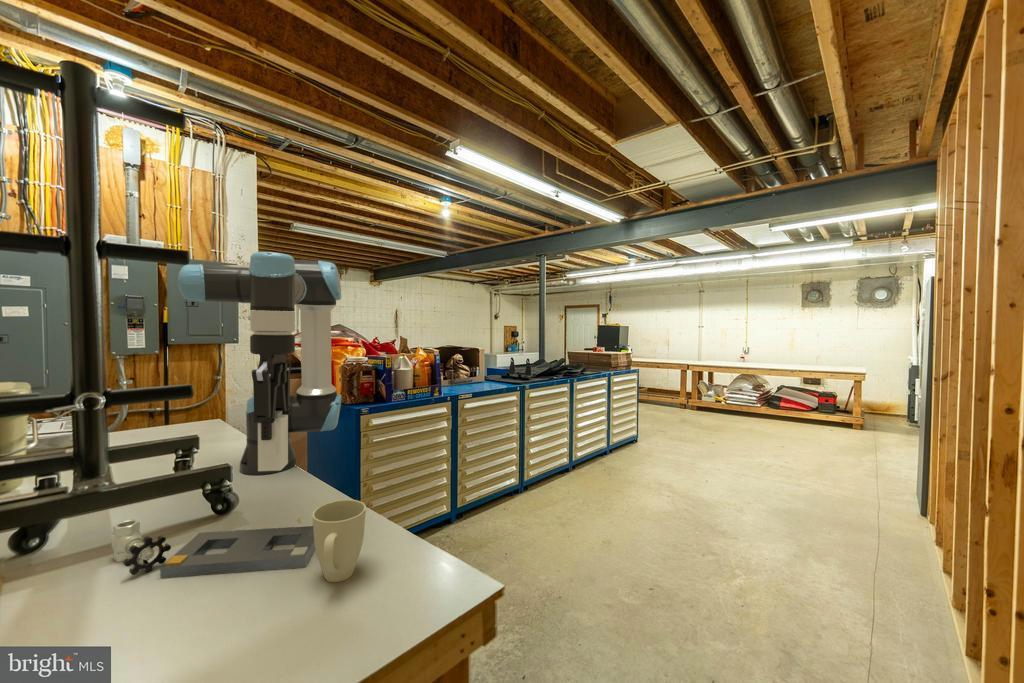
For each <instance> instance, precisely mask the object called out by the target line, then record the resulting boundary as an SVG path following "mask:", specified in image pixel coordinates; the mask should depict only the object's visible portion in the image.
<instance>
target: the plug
mask: <svg viewBox="0 0 1024 683" xmlns="http://www.w3.org/2000/svg"><path fill="white" fill-rule="evenodd" d="M274 422H277V455H276V456H260V423H258V471H280V470H282V469H283V468H284V467H285V466H286V465H287V464H288V415H282V411H275V421H274ZM280 472H281V471H280Z"/></svg>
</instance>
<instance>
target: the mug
mask: <svg viewBox="0 0 1024 683" xmlns="http://www.w3.org/2000/svg"><path fill="white" fill-rule="evenodd" d="M366 511H367V507H366V503H364V502H362V501H360V500H357V499H339V500H333V501H331V502H326V503H324V504H322V505H320V506H318V507H317V508H316V509H315V510H314V511H313V512H312V526H313V530H314V543H315V550H314V551H315V554H316V557H317V560H318V563H319V565H320V568H321V571H322V573H323V576H324V578H325V579H324V580H326V581H327V582H329V583H339V582H343V581H345V580H348V579H349V578H351V576H353V574H354V572H355V568H356V565H357V562H358V559H359V557H360V553H361V551H362V546H363V542H364V535H365V523H366Z"/></svg>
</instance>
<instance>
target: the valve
mask: <svg viewBox="0 0 1024 683" xmlns="http://www.w3.org/2000/svg"><path fill="white" fill-rule="evenodd" d="M140 524H141V523H140V521H139V520H138V519H136V518H135V519H125V520H124V521H120V522H117V523H116V524H114V525H113V526H112V535H113V538H112V539H111V548H112V550H113V560H115V561H116V562H117V563H121V562H122V565H123V566H125V567H127V568H129V567H131V566H133V567H132V568H130V569H129V570H128V571H129V574H131V575H133V576H135V575H137V574H138V573H139V572H140V571H141V570H143V572H144V573H145V574H150V573H152V572H153V571H154V567H153V566H154V565H155V564H157V563H158V564H160V565H163V564H165V563H166V562H167V561H166V560H167V557H165V556H164V553H166V552H169V551H171V549H172V546H171V545H170V544H169V543H165V542H166V539H167V538H166V537H165V536H164V535H159V536H157V540H156V541H154V540H153V537H152V536H150V535H149V536H148V535H147V536H145V537H142V536H143V535H142V533H141V531H140V529H141V528H140V527H141V525H140ZM163 543H165V545H163ZM155 547H157V548H158V553H157V555H156V557H155V558H154V559H153V560H151V561H150V562H149V560H150V559H152V558H153V557H154V556H155V550H154V549H155ZM138 558H139V560H142V563H143V564H140V563H138Z"/></svg>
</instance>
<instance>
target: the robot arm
mask: <svg viewBox="0 0 1024 683" xmlns="http://www.w3.org/2000/svg"><path fill="white" fill-rule="evenodd" d="M177 280H178V281H177V284H178V290H179V292H180V295H181V296H182V297H183V299H185V300H187V301H189V302H191V301H192V302H201V303H234V304H235V303H237V304H239V303H241V304H249V309H250V311H249V312H250V315H248V316H247V320H249V321H250V323H249V324H250V331H251V332H253V334H251V335H250V336H249V345H250V346H249V350H250V353H251V354H252V355H258V356H259V361H258V365H257V369H252V370H251V378H252V384H253V385H252V386H253V389H252V390H253V396H250V397H249V398H248V399H247V402H246V411H245V414H246V421H245V422H246V424H245V425H246V445H245V447H244V450H243V454H242V456H241V459H240V461H239V472H240V473H242V474H244V475H251V476H252V475H253V476H257V475H258V476H259V475H269V474H270V475H271V474H276V473H280V472H283V471H285V470H288V469H291V468H293V467H294V466H295V465H296V463H297V455H296V453H295V450H294V448H293V445H292V442H291V433H304V432H305V433H306V432H307V433H310V432H321V433H322V432H324V431H333V430H335V429H336V428H337V426H338V422H339V418H340V411H341V405H342V394H340V393H337V387H336V386H334V385H333V384H332V310H333V309H334V308H335V307H336V306H337V301H339V300H341V299H342V287H341V280H340V274H339V270H338V267H337V266H336V264H335V263H334V262H333V263H332V262H330V261H325V260H324V261H323V260H309V259H295V258H294V257H293V256H292V255H290V254H285V253H282V252H273V251H256V252H252V254H251V255H250V258H249V262H248V263H245V264H231V265H230V264H229V265H227V264H226V265H223V264H222V265H214V264H213V265H210V264H209V265H208V264H201V263H199V264H185V265H184V266H182V267H181V268H180V270H179V271H178V276H177ZM295 307H297V308H298V310H299V311H300V354H301V355H300V357H301V359H300V360H301V361H300V362H301V363H300V364H301V365H300V366H301V367H300V368H301V370H300V371H301V385H300V387H298V389H297V390H296V395H292V394H291V371H292V363H291V362H287V360H286V355H290V354H293V353H295V351H296V337H295V335H294V334H292V333H294V332H295V331H296V312H295V309H296V308H295ZM275 411H282V415H288V464H287V465H286V466H285V467H284V468H283V469H282V470H280V471H258V423H260V456H276V455H277V422H274V421H275ZM293 465H294V466H293Z"/></svg>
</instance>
